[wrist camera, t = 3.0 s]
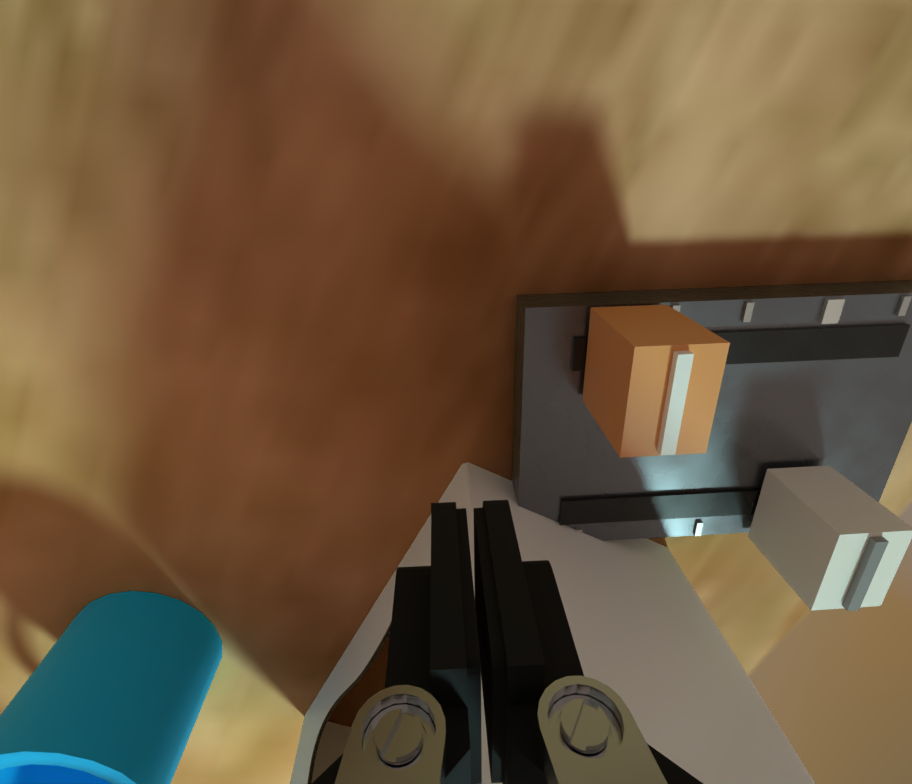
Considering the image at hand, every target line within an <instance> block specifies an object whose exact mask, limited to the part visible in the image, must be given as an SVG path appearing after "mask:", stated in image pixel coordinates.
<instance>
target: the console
mask: <svg viewBox="0 0 912 784" xmlns="http://www.w3.org/2000/svg"><path fill="white" fill-rule="evenodd" d="M642 305H668V306H670V307H672V308H673V309H675V310H676V311H678V312H680V313H681V314H683V315H685V316H686V317H688V318H690V319H691V320H693V321H695V322H696V323H698V324H700V325H701V326H703V327H705V328H706V329H708V330H710V331H711V332H713V333H715V334H716V335H718V336H720V337H721V338H723V339H725V340H726V341H728V342H730V346H729V350H728V355H727V359H726V364H725V368H724V373H723V378H722V382H721V387H720V391H719V396H718V400H717V405H716V410H715V414H714V419H713V423H712V428H711V432H710V437H709V442H708V446H707V451H706V453H700V454H681V455H661V456H642V457H623V458H620V457H619V456H618V454H617V452H616V451H615V449H614V448H613V446H612V445H611V443H610V442H609V440H608V439H607V437H606V436H605V434H604V433H603V431H602V430H601V428H600V426H599V425H598V423H597V422H596V420H595V419H594V417H593V416H592V414H591V413H590V411H589V410H588V408H587V407H586V405H585V404H584V402H583V400H582V398H583V387H584V376H585V365H586V354H587V343H588V332H589V321H590V311H591V307H616V306H642ZM911 422H912V280H909V281H882V282H856V283H829V284H803V285H777V286H750V287H724V288H697V289H671V290H645V291H618V292H592V293H565V294H539V295H517V311H516V347H515V383H514V419H513V455H512V484H513V488H514V491H515V495H516V499H517V502H518V506H520V507H522V508H525V509H527V510H529V511H532V512H534V513H537V514H539V515H541V516H544V517H546V518H549V519H551V520H554V521H556V522H558V523H559V524H560V525H566V526H568V527H570V528H573V529H575V530H576V532H578V533H580V534H582V533H585V534H587V535H590V536H592V537H595V538H597V539H599V540H602V541H608V540H625V539H642V538H659V537H676V536H693V535H694V536H701V535H710V534H727V533H744V532H749V531H750V527H751V524H752V520H753V517H754V513H755V510H756V506H757V503H758V499H759V496H760V492H761V489H762V485H763V481H764V478H765V474H766V471H767V469H773V468H792V467H810V466H829V465H830V466H831V467H832V468H834V469H835V470H836V471H838V472H839V473H840V474H842V475H843V476H844V477H846V478H847V479H848V480H850V481H851V482H852V483H854V484H855V485H856V486H858V487H859V488H860V489H862V490H863V491H864V492H866V493H867V494H868V495H869V496H871V497H872V498H873V499H875V500H876V501H877V502H879V500H880V497H881V495H882V493H883V490H884V488H885V485H886V483H887V480H888V478H889V475H890V473H891V470H892V468H893V466H894V463H895V461H896V458H897V456H898V453H899V451H900V448H901V446H902V444H903V441H904V439H905V436H906V434H907V431H908V429H909V426H910V424H911Z"/></svg>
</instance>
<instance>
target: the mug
mask: <svg viewBox="0 0 912 784" xmlns="http://www.w3.org/2000/svg"><path fill="white" fill-rule="evenodd" d="M221 658H222V640H221V638H220V636H219V634H218V632H217V630H216V628H215V626H214V625H213V624H212V623H211V622H210V621H209V620H208V619H207V618H206V617H205V616H204V615H203V614H202V613H201V612H200V611H198V610H196V609H195V608H193V607H191V606H190V605H188V604H186V603H184V602H183V601H181V600H178V599H175V598H171V597H168V596H165V595H162V594H159V593H150V592H139V591H128V592H120V593H113V594H108V595H106V596H103V597H101V598H99V599H96V600H94V601H92V602H90V603H89V604H88V605H87V606H86V607H85V608H84V609H82V610H81V611H80V612H79V613H78V614H77V616H76V617H75V618H74V620H73V621H72V622H71V623H70V625H69V626H68V627H67V629H66V630H65V631H64V633H63V634H62V635H61V637H60V638H59V639H58V641H57V642H56V643H55V644H54V646H53V647H52V648H51V650H50V651H49V652H48V654H47V655H46V656H45V658H44V659H43V660H42V662H41V663H40V664H39V665H38V667H37V668H36V669H35V671H34V672H33V673H32V675H31V676H30V677H29V679H28V680H27V681H26V683H25V684H24V685H23V686H22V688H21V689H20V690H19V692H18V693H17V694H16V696H15V697H14V698H13V700H12V701H11V702H10V703H9V705H8V706H7V707H6V709H5V710H4V711H3V713H2V714H1V715H0V784H170V783H171V781H172V778H173V776H174V773H175V771H176V768H177V766H178V764H179V761H180V759H181V756H182V754H183V751H184V749H185V746H186V744H187V741H188V739H189V736H190V734H191V732H192V729H193V727H194V724H195V722H196V719H197V717H198V714H199V712H200V709H201V707H202V705H203V702H204V700H205V697H206V695H207V692H208V690H209V687H210V685H211V682H212V680H213V677H214V675H215V673H216V670H217V668H218V665H219V663H220V660H221Z"/></svg>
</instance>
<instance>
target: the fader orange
mask: <svg viewBox="0 0 912 784" xmlns="http://www.w3.org/2000/svg"><path fill="white" fill-rule="evenodd" d="M729 346H730V342H728V341H726V340H725V339H723V338H721V337H720V336H718V335H716V334H715V333H713V332H711V331H710V330H708V329H706V328H705V327H703V326H701V325H700V324H698V323H696V322H695V321H693V320H691V319H690V318H688V317H686V316H685V315H683V314H681V313H680V312H678V311H676V310H675V309H673V308H672V307H670V306H668V305H642V306H616V307H591V311H590V321H589V332H588V343H587V354H586V365H585V376H584V387H583V398H582V400H583V402H584V404H585V405H586V407H587V408H588V410H589V411H590V413H591V414H592V416H593V417H594V419H595V420H596V422H597V423H598V425H599V426H600V428H601V430H602V431H603V433H604V434H605V436H606V437H607V439H608V440H609V442H610V443H611V445H612V446H613V448H614V449H615V451H616V452H617V454H618V456H619V457H620V458H623V457H642V456H661V455H681V454H700V453H706V451H707V446H708V442H709V437H710V432H711V428H712V423H713V419H714V414H715V410H716V405H717V400H718V396H719V391H720V387H721V382H722V378H723V373H724V368H725V364H726V359H727V355H728V350H729Z"/></svg>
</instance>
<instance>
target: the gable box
mask: <svg viewBox="0 0 912 784" xmlns="http://www.w3.org/2000/svg"><path fill="white" fill-rule="evenodd" d="M489 500H508V502H509V505H510V510H511V514H512V519H513V523H514V528H515V532H516V537H517V541H518V545H519V550H520V554H521V559H522V561H540V560H548V561H549V562H550V564H551V567H552V569H553V573H554V576H555V580H556V583H557V586H558V590H559V593H560V596H561V600H562V603H563V606H564V610H565V613H566V617H567V620H568V623H569V627H570V630H571V633H572V637H573V640H574V643H575V647H576V650H577V654H578V657H579V660H580V664H581V667H582V670H583V674H584V676H585V677H589V678H593V679H596V680H598V681H600V682H602V683H604V684H606V685H607V686H609V687H610V688H611V689H612V690H613V691H615V692H616V693H617V694H618V695H619V696H620V697H621V698H622V700H623V701H624V703H625V704H626V706H627V707H628V708H629V710H630V712H631V714H632V716H633V718H634V720H635V722H636V724H637V726H638V727H639V729H640V731H641V733H642V735H643V737H644V739H645V741H646V743H647V744H649V745H650V746H651V747H653V748H654V749H656V750H657V751H658V752H660V753H661V754H663V755H664V756H665V757H667V758H668V759H670V760H671V761H672V762H674V763H675V764H677V765H678V766H679V767H681V768H682V769H684V770H685V771H686V772H688V773H689V774H691V775H692V776H693V777H695V778H696V779H698V780H699V781H700V782H702V783H703V784H815V783H814V781H813V779H812V778H811V776H810V774H809V773H808V771H807V770H806V768H805V767H804V765H803V763H802V762H801V760H800V759H799V757H798V755H797V754H796V752H795V750H794V749H793V747H792V746H791V744H790V742H789V741H788V739H787V738H786V736H785V735H784V733H783V731H782V730H781V728H780V726H779V725H778V723H777V722H776V720H775V718H774V717H773V715H772V714H771V712H770V710H769V709H768V708H767V706H766V704H765V703H764V701H763V699H762V698H761V696H760V694H759V693H758V691H757V690H756V688H755V687H754V685H753V683H752V682H751V680H750V678H749V677H748V675H747V674H746V672H745V670H744V669H743V667H742V666H741V664H740V662H739V661H738V659H737V658H736V656H735V654H734V653H733V651H732V650H731V648H730V646H729V645H728V643H727V642H726V640H725V638H724V637H723V635H722V634H721V632H720V630H719V629H718V627H717V626H716V624H715V622H714V621H713V619H712V618H711V616H710V614H709V613H708V611H707V610H706V608H705V606H704V605H703V603H702V602H701V600H700V599H699V597H698V595H697V594H696V592H695V591H694V589H693V587H692V586H691V584H690V583H689V581H688V579H687V578H686V576H685V575H684V573H683V571H682V570H681V568H680V567H679V565H678V563H677V562H676V560H675V559H674V557H673V555H672V554H671V552H670V551H669V549H668V547H665V546H663V545H661V544H658V543H656V542H654V541H651V540H649V539H647V538H642V539H625V540H608V541H602V540H599V539H597V538H595V537H592V536H590V535H587V534H585V533H582V534H580V533H578V532H576V530H575V529H573V528H570V527H568V526H566V525H560V524H559V523H558V522H556V521H554V520H551V519H549V518H546V517H544V516H541V515H539V514H537V513H534V512H532V511H529V510H527V509H525V508H522V507H520V506H518V502H517V499H516V495H515V491H514V488H513V484H512V481H511V480H509V479H506V478H504V477H502V476H499V475H497V474H495V473H492V472H490V471H488V470H485V469H483V468H481V467H478V466H476V465H474V464H471V463H469V462H467V463H463V464H462V465H461V466H460V468H459V470H458V471H457V473H456V474H455V476H454V478H453V479H452V481H451V482H450V484H449V486H448V487H447V489H446V490H445V492H444V494H443V495H442V497H441V498H440V500H439V502H438V503H444V502H456V509H461V508H466V513H467V523H468V534H469V545H470V555H471V566H472V577H473V587H474V598H475V583H474V508H483V501H489ZM414 566H431V514H430V516H429V517H428V519H427V521H426V522H425V524H424V525H423V527H422V529H421V530H420V532H419V533H418V535H417V537H416V538H415V540H414V541H413V543H412V545H411V546H410V548H409V549H408V551H407V553H406V554H405V556H404V557H403V559H402V561H401V562H400V564H399V565H398V567H414ZM396 570H397V569H396ZM396 570H395V572H394V573H393V575H392V577H391V578H390V580H389V581H388V583H387V585H386V586H385V588H384V589H383V591H382V593H381V594H380V596H379V597H378V599H377V601H376V602H375V604H374V605H373V607H372V608H371V610H370V612H369V613H368V615H367V616H366V618H365V620H364V621H363V623H362V624H361V626H360V628H359V629H358V631H357V632H356V634H355V636H354V637H353V639H352V640H351V642H350V644H349V645H348V647H347V648H346V650H345V652H344V653H343V655H342V656H341V658H340V660H339V661H338V663H337V664H336V666H335V668H334V669H333V671H332V672H331V674H330V676H329V677H328V679H327V680H326V682H325V684H324V685H323V687H322V688H321V690H320V692H319V693H318V695H317V696H316V698H315V699H314V701H313V703H312V704H311V706H310V707H309V709H308V711H307V712H306V714H305V716H304V721H303V725H302V730H301V734H300V739H299V744H298V748H297V753H296V758H295V762H294V767H293V772H292V776H291V781H290V784H312V783H313V782H314V781H315V780H316V779H317V778H318V777H319V776H320V775H321V774H322V773H323V772H324V771H325V770H326V769H327V768H328V767H329V766H330V765H331V764H332V763H334V762H335V761H336V760H337V759H338V758H339V757H340V756H341V755H342V754H343V753H344V750H345V747H346V743H347V740H348V737H349V733H350V730H351V727H348V726H344V725H340V724H336V723H332V722H329V721H328V719H329V717H330V716H331V714H332V712H333V711H334V709H335V708H336V706H337V705H338V704H339V702H340V701H341V700H342V699H343V698H344V696H345V695H346V694H347V693H348V692H349V691H350V690H351V689H352V688H353V687H354V686H355V685H356V684H357V683H358V682H359V681H360V680H361V679H362V678H363V676H364V675H365V674H366V672H367V671H368V669H369V668H370V666H371V665H372V663H373V662H374V660H375V659H376V657H377V655H378V654H379V652H380V650H381V649H382V647H383V645H384V643H385V642H386V640H387V638H388V636H389V634H390V630H391V620H392V610H393V599H394V589H395V578H396ZM481 751H482V784H503V783H491V776H490V766H489V755H488V744H487V734H486V723H485V712H484V701H483V690H482V680H481Z"/></svg>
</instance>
